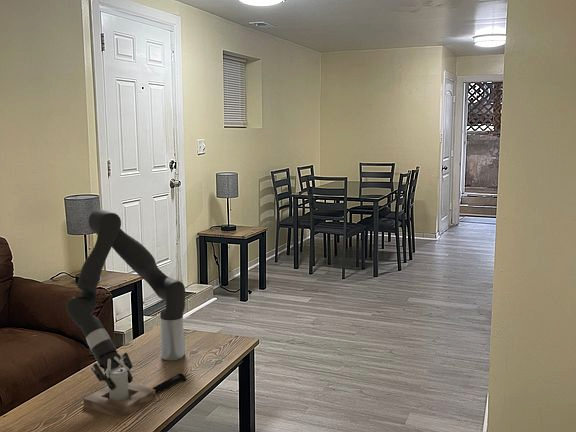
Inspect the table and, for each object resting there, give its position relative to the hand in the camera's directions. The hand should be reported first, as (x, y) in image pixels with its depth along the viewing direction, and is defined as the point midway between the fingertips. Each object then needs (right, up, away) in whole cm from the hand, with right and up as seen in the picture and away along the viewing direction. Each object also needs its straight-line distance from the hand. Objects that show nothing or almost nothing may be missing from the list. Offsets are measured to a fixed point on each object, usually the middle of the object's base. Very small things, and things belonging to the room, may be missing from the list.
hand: (122, 385), depth 198 cm
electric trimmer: (+13, -5, +15) cm, 21 cm away
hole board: (-1, -6, +2) cm, 7 cm away
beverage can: (-2, -7, +2) cm, 7 cm away
